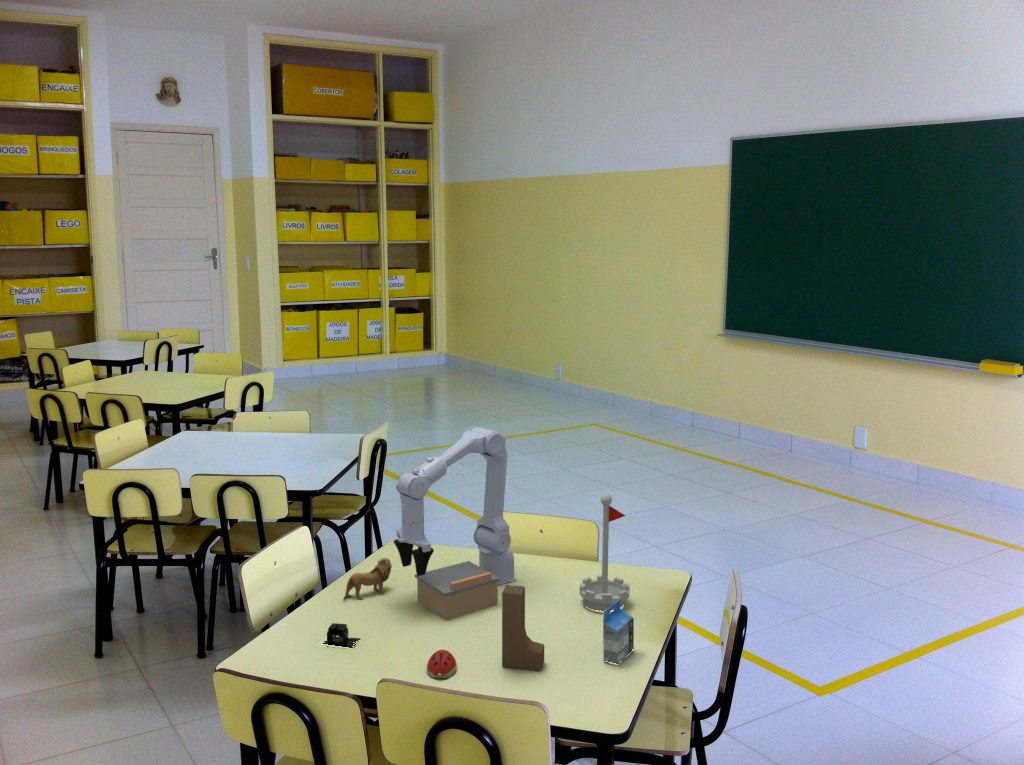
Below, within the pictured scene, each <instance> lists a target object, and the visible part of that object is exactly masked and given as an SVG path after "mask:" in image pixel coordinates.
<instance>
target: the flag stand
mask: <svg viewBox="0 0 1024 765" xmlns="http://www.w3.org/2000/svg"><path fill="white" fill-rule="evenodd" d="M600 502H601V504H602V507H603V508H602V509H603V510H602V511H603V512H602V554H601V558H602V559H601V575H596V577H597V578H596V579H592V578H591V577H590V576H588V577H586V578H583V579H582V582H580V583H579V596H580V597H581V598H583V599H582V601H583V602H582V603H584V605H585V606H586V607H588V608H590V609H593V610H599V611H600V610H601V611H605V610H607V609H608V608H609V607H610V606H612V605H613V604H614V603H616V602H617V601H618V600H620V599H621V604H620V607H622V606H623V605H624V604H625V605H626V601H627V600H628V599H629V597H630V587H631V586H630V584H629V582H626V583H624V579H623V578H621V577H617V576H615V577H614V578H613V580H612V579H608V578H609V577H608V576H609V539H610V538H609V536H610V535H609V533H610V532H609V530H610V529H609V527H610V526H609V525H610V522H613V521H616V520H618V519H622V518H623V517H626V515H625V514H624V513H622V512H621V511H619V510H618V509H616V508H614V507H612V506H611V504H612V502H613V497H612V495H610V494H608V493H604V494H602V495H601V497H600ZM616 596H617V597H616ZM584 605H583V606H584ZM585 606H584V607H585ZM586 607H585V608H586ZM614 609H615V608H614ZM614 609H613V608H612V610H614Z"/></svg>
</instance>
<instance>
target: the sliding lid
mask: <svg viewBox="0 0 1024 765" xmlns="http://www.w3.org/2000/svg"><path fill="white" fill-rule="evenodd" d="M414 578H416V579H419V580H420V581H422V582H423V583H425V584H427V585H428V586H430V587H431V588H433V589H435V590H436V591H438V592H439V593H441V594H443V595H444V596H446V595H450V594H453V593H457V592H460V591H464V590H468V589H471V588H475V587H478V586H482V585H485V584H489V583H493V582H496V581H500V578H499V577H497V576H495V575H494V574H492V573H490V572H488V571H486V570H484V569H483V568H481V567H479V565H477V564H475V563H473V562H472V561H471V560H467V561H464V562H460V563H455V564H452V565H447V566H442V567H440V568H436V569H432V570H428V571H426V573H425V575H421V576H418V575H417V573H416V574H414Z"/></svg>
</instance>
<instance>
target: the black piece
mask: <svg viewBox="0 0 1024 765" xmlns="http://www.w3.org/2000/svg"><path fill="white" fill-rule="evenodd" d="M326 636H327V641H324V642H325V643H323V644H328V645H335V646H342V647H349V648H353V647H352V646H355V645H356V644H355V643H356V641H358V640H360V641H361V640H362V638H359V637H350V638H348V637H349V628H348V624H346V623H338V622H337V623H335V622H334V623H331V625H330V626H328V629H327V631H326ZM337 636H338V637H337ZM360 641H358V643H359V642H360ZM353 642H355V643H353ZM353 644H355V645H353ZM356 646H357V645H356ZM356 646H355V647H356Z"/></svg>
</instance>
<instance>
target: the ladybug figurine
mask: <svg viewBox="0 0 1024 765" xmlns="http://www.w3.org/2000/svg"><path fill="white" fill-rule="evenodd" d="M457 668H458V664H457V661H456V658H455V657H454V655H453V654H452V653H451V652H450V651H449V650H446V649H438V650H436V651H435V652H434V653H433V654H432V655H430V658H429V659H428V662H427V664H426V672H427V673H428V675H430V677H432V678H434V679H438V678H444V679H447V678H449V677H451V676H453V675H454V674H455V672H456V671H457ZM446 677H447V678H446Z"/></svg>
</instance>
